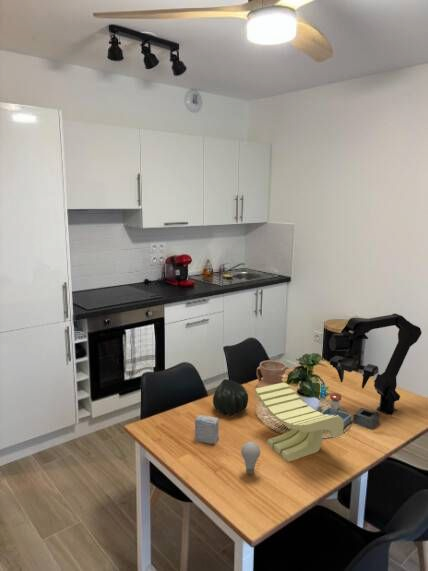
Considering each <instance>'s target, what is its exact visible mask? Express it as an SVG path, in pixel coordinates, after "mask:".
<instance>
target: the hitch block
mask: <svg viewBox="0 0 428 571" xmlns="http://www.w3.org/2000/svg"><path fill="white" fill-rule="evenodd" d="M380 416H381V413H379V412H378V411H374V410H371V409H367V408H364V407H360V408H359V409H358V410H356V411H355V412H354V413H353V416H352V418H353V420H352V421H353V422H352V424H355V425H357V426H361V427H363V428H367V429H368V430H373V429H374V428H375V427H376V426H378V424H380Z"/></svg>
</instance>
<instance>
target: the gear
mask: <svg viewBox="0 0 428 571" xmlns="http://www.w3.org/2000/svg"><path fill="white" fill-rule="evenodd" d="M319 383H320V384H321V392H320V399H319V400H321V399H323V398H326V395H328V391H327V390H328V389H330V387H329V385H328V386H326V383H325V382H324V385H323V382H322V383H321V382H319Z"/></svg>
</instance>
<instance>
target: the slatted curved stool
mask: <svg viewBox="0 0 428 571" xmlns="http://www.w3.org/2000/svg"><path fill="white" fill-rule="evenodd" d="M254 391H255V392H254V394H255V395H254V396H255V397H257V398H258V402H260V403H261V404H262V407H263V408H265V409H267V414H268V413H269V414H270V415H271V416H272V417H274V419H276V420H277V421H278V422H280V423H282V424H283V425H284V426H285V427H286V428H288V429H289V431H287V432H285V433H283V434H281V435H278V436H275V437H271V438H268V439H267V441H266V444H267V445H269V447H271V448H273V450H274V451H275V452H276V453H277V454H279V455H281V457H282V458H283V459H284V460H286V462H291V461H295V460H297V459H300V458H303V457H307V456H309V455H312V454H315V453H316V454H317V452H318V451H320V449H321V448H322V443H323V436H324V433H328V434H329V435H330V436H331V437H332V438H337V437H340V436H342V435H344V428H343V427H344V422H343V419H342V418H341V417H340V416H338V415H337V416H334V415H331V416H329V415H327V414H326V415H324V414H322V413H321V412H320V411H319V410H316V409H314V408H313V407H311V406H309V405H308V403H306V402H304V400H301V397H300V396H299V395H298V394H297V393H296V392H295V390H293V389H292V387H291V385H289V384H288V383H286V382H285V383H279V384H274V385H270V386H265V387H260V388H257V387H256V388H254Z"/></svg>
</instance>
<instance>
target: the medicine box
mask: <svg viewBox="0 0 428 571" xmlns="http://www.w3.org/2000/svg"><path fill="white" fill-rule="evenodd" d="M219 421H220V420H219V418H218V417H213V416H209V415H203V414H199V415H198V416H197V417H196V419H195V420H194V434H195V435H194V436H195V437H194V441H195V442H199V443H205V444H210V445H214V446H215V445H216V444H217V443H218V441H219V437H220V436H219V434H220V432H219V430H220V429H219V425H220V424H219Z"/></svg>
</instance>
